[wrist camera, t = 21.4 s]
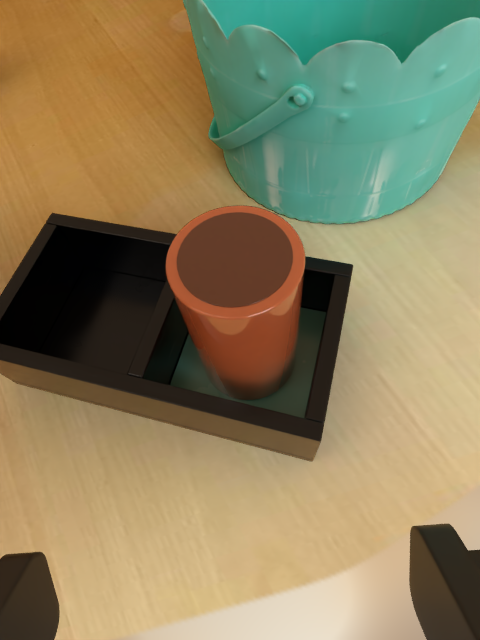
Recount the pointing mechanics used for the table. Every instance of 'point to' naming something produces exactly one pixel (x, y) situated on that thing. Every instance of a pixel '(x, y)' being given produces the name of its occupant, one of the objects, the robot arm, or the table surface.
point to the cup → (240, 296)
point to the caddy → (155, 337)
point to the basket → (338, 98)
